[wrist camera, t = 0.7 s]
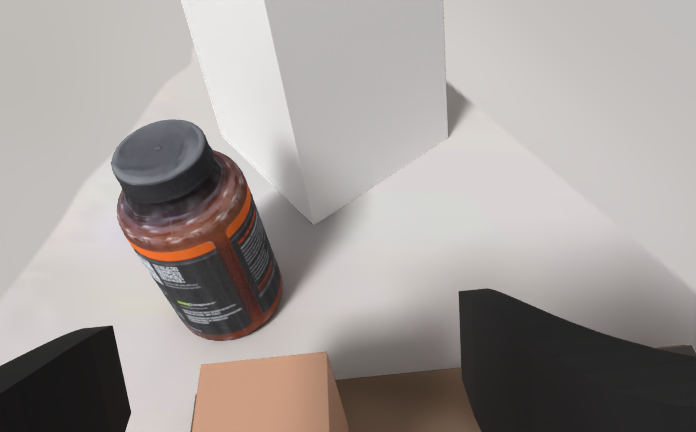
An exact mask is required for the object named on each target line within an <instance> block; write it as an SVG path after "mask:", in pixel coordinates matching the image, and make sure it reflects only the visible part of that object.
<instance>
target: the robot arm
mask: <svg viewBox="0 0 696 432" xmlns="http://www.w3.org/2000/svg"><path fill="white" fill-rule="evenodd" d="M459 312H460V341H461V369H462V381H463V384H464V387H465V390H466V393H467V396H468V399H469V402H470V405H471V408H472V411H473V414H474V417H475V419H476V421H477V424H478V426H479V428H480V430H481V432H696V357H695V356H689V355H684V354H679V353H674V352H669V351H665V350H660V349H656V348H652V347H648V346H644V345H641V344H637V343H633V342H630V341H626V340H622V339H619V338H615V337H612V336H609V335H606V334H603V333H600V332H597V331H594V330H591V329H588V328H586V327H583V326H580V325H577V324H575V323H572V322H569V321H567V320H564V319H562V318H559V317H557V316H555V315H552V314H550V313H547V312H545V311H543V310H540V309H538V308H536V307H533V306H531V305H529V304H527V303H524V302H522V301H520V300H518V299H515V298H513V297H511V296H508V295H506V294H503V293H501V292H498V291H495V290H492V289H478V290H468V291H459ZM130 415H131V410H130V405H129V401H128V396H127V391H126V386H125V382H124V377H123V372H122V368H121V363H120V358H119V354H118V349H117V344H116V339H115V335H114V330H113V326H104V327H94V328H83V329H80V330H76V331H73V332H71V333H68V334H66V335H63V336H61V337H59V338H56V339H54V340H52V341H50V342H48V343H46V344H44V345H42V346H40V347H38V348H36V349H33V350H31V351H29V352H27V353H25V354H23V355H21V356H19V357H17V358H15V359H13V360H11V361H9V362H7V363H5V364H3V365H1V366H0V432H125V430H126V427H127V424H128V421H129V418H130Z"/></svg>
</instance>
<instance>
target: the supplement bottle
mask: <svg viewBox="0 0 696 432" xmlns="http://www.w3.org/2000/svg"><path fill="white" fill-rule="evenodd" d="M111 165H112V170H113V173H114V175H115V176H116V178H117V180H118V181H119V183H120V185H121V186H122V192H121V194H120V196H119V199H118V204H117V218H118V221H119V225H120V227H121V229H122V231H123V232H124V235H125V236H126V238H127V239H128V241H129V242H130V244H131V246H132V247H133V248H134V250H135V252H136V253H137V254H138V256H139V257H140V259H141V260H142V262H143V263H144V265H145V266H146V268H147V269H148V271H149V272H150V274H151V275H152V277H153V279H154V280H155V281H156V283H157V284H158V286H159V287H160V289H161V290H162V292H163V293H164V295H165V296H166V298H167V299H168V301H169V302H170V304H171V305H172V307H173V308H174V310H175V311H176V313H177V314H178V316H179V317H180V319H181V320H182V321H183V323H184V324H185V325H186V326H187V327H188V328H189V330H191V331H192V332H193V333H194V334H196V335H198V336H200V337H203V338H205V339H208V340H215V341H225V340H234V339H237V338H240V337H243V336H245V335H247V334H250V333H251V332H253V331H255V330H256V329H257V328H259V327H260V326H262V325H263V324H264V323H265V322H266V321H267V320H268V319H269V318H270V317H271V316H272V314H273V313H274V311H275V310H276V308H277V306H278V304H279V301H280V298H281V294H282V279H281V274H280V271H279V267H278V265H277V262H276V260H275V257H274V254H273V251H272V249H271V246H270V243H269V241H268V238H267V235H266V232H265V230H264V227H263V224H262V221H261V219H260V216H259V214H258V211H257V208H256V205H255V203H254V200H253V196H252V194H251V192H250V189H249V187H248V184H247V182H246V179H245V177H244V175H243V173H242V171H241V169H240V168H239V167H238V165H237V164H236V163H235V162H234V161H233V160H232V159H231V158H229V157H228V156H226V155H224V154H222V153H220V152H217V151H214V150H212V149H211V147H210V146H209V144H208V142H207V139H206V137H205V135H204V133H203V131H202V130H201V129H200V128H199V127H198V126H197V125H195V124H193V123H191V122H188V121H184V120H163V121H158V122H155V123H152V124H149V125H146V126H144V127H142V128H140V129H138V130H136V131H135V132H133V133H132V134H130V135H129V136H127V137H126V138H125V139H124V140H123V141H122V142H121V143H120V144H119V146H118V147H117V148H116V150H115V152H114V155H113V158H112V162H111Z"/></svg>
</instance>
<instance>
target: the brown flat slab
mask: <svg viewBox="0 0 696 432" xmlns="http://www.w3.org/2000/svg"><path fill="white" fill-rule="evenodd" d="M656 349H660V350H665V351H669V352H674V353H679V354H684V355H689V356H695V357H696V353H695V351H694V349H693V347H692V345H690V346H686V345H680V346H670V347H660V348H656ZM335 382H336V385H337V389H338V392H339V396H340V399H341V403H342V406H343V409H344V413H345V416H346V420H347V423H348V427H349V432H481V430H480V428H479V426H478V424H477V421H476V419H475V417H474V414H473V411H472V408H471V405H470V402H469V399H468V396H467V393H466V390H465V387H464V384H463V381H462V369H461V368H451V369H442V370H432V371H422V372H412V373H402V374H392V375H382V376H372V377H362V378H352V379H342V380H335ZM196 398H197V394H196V396H195V403H194V411H193V418H192V425H191V432H192V427H193V420H194V413H195V405H196Z"/></svg>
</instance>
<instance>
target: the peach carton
mask: <svg viewBox="0 0 696 432" xmlns="http://www.w3.org/2000/svg"><path fill="white" fill-rule="evenodd" d="M192 432H349V427H348V423H347V420H346V416H345V413H344V409H343V406H342V403H341V399H340V396H339V392H338V389H337V385H336V382H335V379H334V375H333V372H332V368H331V365H330V361H329V358H328V355H327V352H319V353H310V354H300V355H290V356H281V357H271V358H261V359H252V360H242V361H232V362H223V363H213V364H203V365H201V368H200V376H199V383H198V390H197V398H196V405H195V413H194V420H193V427H192Z"/></svg>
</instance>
